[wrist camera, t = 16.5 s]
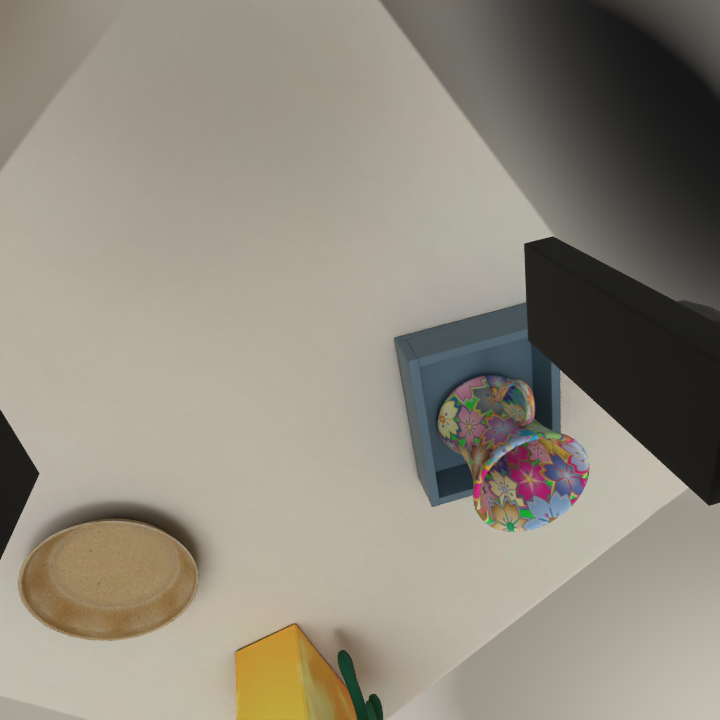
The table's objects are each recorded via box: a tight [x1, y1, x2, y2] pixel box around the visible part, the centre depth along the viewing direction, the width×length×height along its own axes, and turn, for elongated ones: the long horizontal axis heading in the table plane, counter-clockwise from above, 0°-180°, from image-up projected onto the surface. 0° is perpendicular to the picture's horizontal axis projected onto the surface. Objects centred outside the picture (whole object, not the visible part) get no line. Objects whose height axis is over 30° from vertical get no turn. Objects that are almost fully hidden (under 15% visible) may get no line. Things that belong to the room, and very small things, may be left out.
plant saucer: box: [18, 519, 198, 641], centre depth 51 cm, size 15×15×3 cm
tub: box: [394, 303, 561, 507], centre depth 50 cm, size 13×16×4 cm
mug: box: [438, 375, 589, 532], centre depth 46 cm, size 12×9×11 cm
